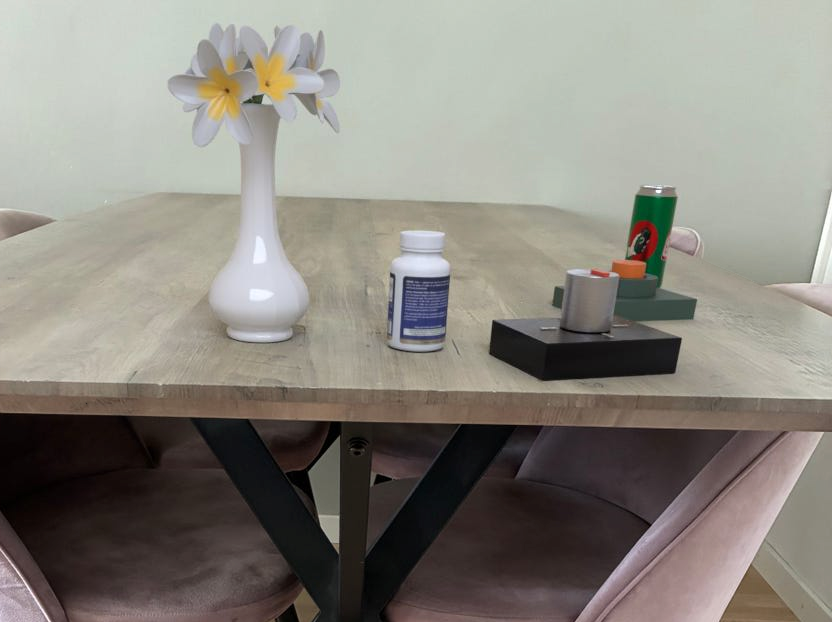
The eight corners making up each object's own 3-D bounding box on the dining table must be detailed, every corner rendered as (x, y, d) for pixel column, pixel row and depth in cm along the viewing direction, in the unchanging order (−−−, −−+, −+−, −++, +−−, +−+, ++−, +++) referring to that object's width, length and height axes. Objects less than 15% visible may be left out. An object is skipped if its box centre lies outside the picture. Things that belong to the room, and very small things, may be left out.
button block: (640, 303, 113) (647, 267, 111) (693, 319, 105) (701, 281, 103) (551, 306, 109) (556, 269, 107) (599, 323, 101) (605, 283, 99)
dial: (550, 323, 84) (557, 265, 82) (594, 322, 85) (602, 265, 83) (575, 333, 80) (584, 273, 78) (620, 332, 82) (630, 272, 79)
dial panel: (611, 348, 90) (617, 313, 89) (675, 373, 82) (683, 335, 81) (488, 353, 86) (492, 317, 85) (542, 380, 78) (547, 341, 77)
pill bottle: (456, 348, 88) (466, 233, 83) (417, 355, 85) (425, 237, 80) (413, 337, 91) (420, 227, 87) (374, 344, 88) (379, 230, 83)
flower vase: (167, 355, 81) (146, 6, 69) (217, 315, 97) (207, 26, 85) (318, 364, 80) (324, 11, 68) (343, 322, 96) (351, 30, 84)
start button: (631, 276, 107) (634, 259, 106) (650, 281, 104) (653, 264, 103) (603, 276, 106) (606, 259, 105) (621, 281, 103) (624, 264, 102)
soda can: (665, 293, 120) (685, 188, 114) (625, 292, 120) (643, 186, 114) (654, 287, 124) (672, 185, 118) (615, 285, 124) (632, 184, 118)
